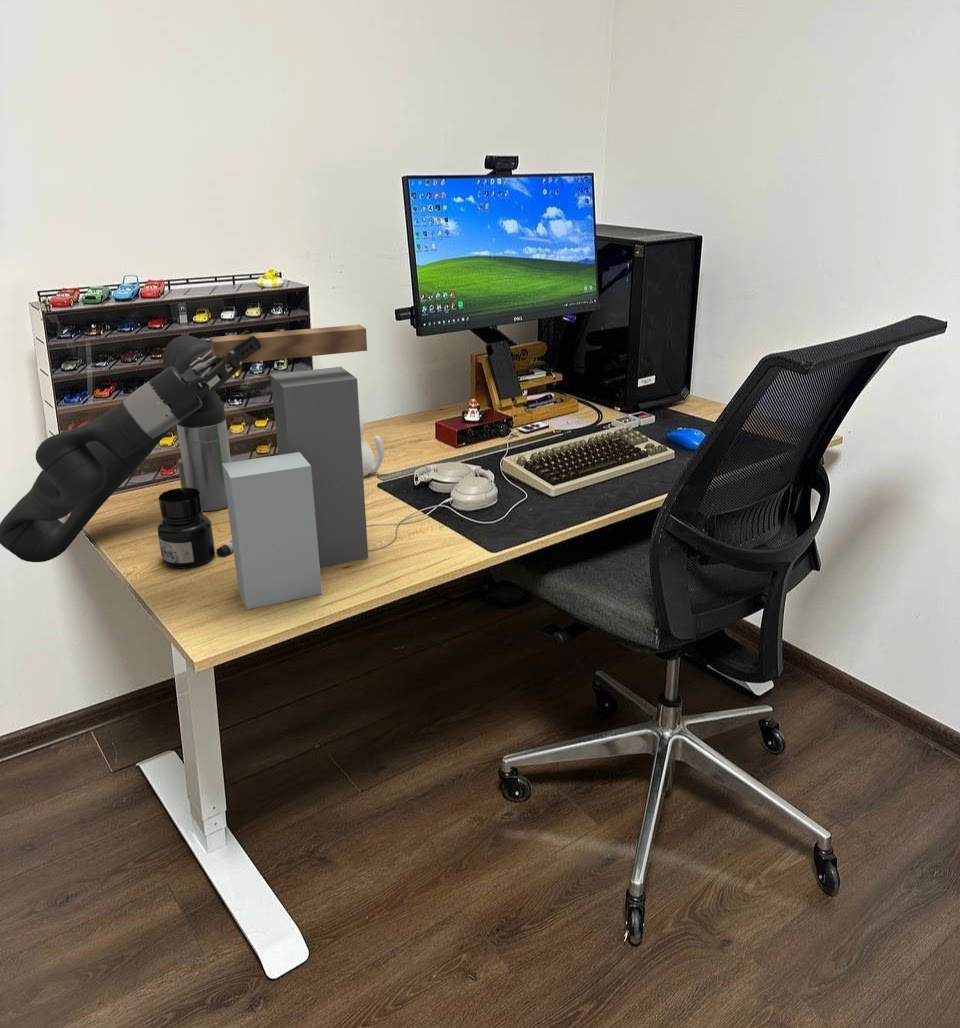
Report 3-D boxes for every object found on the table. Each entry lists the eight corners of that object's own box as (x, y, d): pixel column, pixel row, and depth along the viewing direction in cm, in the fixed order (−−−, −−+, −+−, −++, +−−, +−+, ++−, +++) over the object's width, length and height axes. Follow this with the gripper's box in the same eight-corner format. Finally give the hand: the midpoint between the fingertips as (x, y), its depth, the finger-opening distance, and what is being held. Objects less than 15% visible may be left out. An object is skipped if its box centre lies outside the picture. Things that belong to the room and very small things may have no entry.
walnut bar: (216, 365, 135) (213, 341, 134) (212, 360, 139) (209, 337, 137) (367, 350, 145) (366, 328, 143) (360, 346, 148) (359, 324, 146)
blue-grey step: (247, 609, 139) (230, 478, 130) (238, 590, 145) (222, 463, 136) (322, 593, 143) (311, 465, 135) (310, 575, 149) (299, 452, 141)
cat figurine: (337, 465, 199) (331, 400, 193) (391, 467, 197) (387, 402, 191) (324, 479, 191) (317, 412, 185) (380, 482, 189) (375, 414, 183)
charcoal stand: (300, 570, 151) (283, 387, 138) (288, 550, 158) (270, 374, 146) (368, 557, 156) (357, 378, 143) (352, 538, 163) (341, 366, 150)
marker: (225, 559, 156) (224, 548, 155) (216, 557, 157) (215, 546, 156) (278, 526, 169) (278, 517, 168) (270, 525, 170) (269, 515, 169)
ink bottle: (151, 559, 156) (140, 495, 151) (195, 542, 162) (186, 481, 157) (182, 575, 150) (172, 509, 145) (226, 557, 156) (218, 494, 151)
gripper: (172, 409, 144) (260, 348, 146) (184, 434, 132) (279, 367, 134) (142, 372, 140) (232, 310, 142) (151, 394, 128) (249, 326, 130)
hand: (254, 338), depth 138 cm, fingers closed on walnut bar, 3 cm apart
